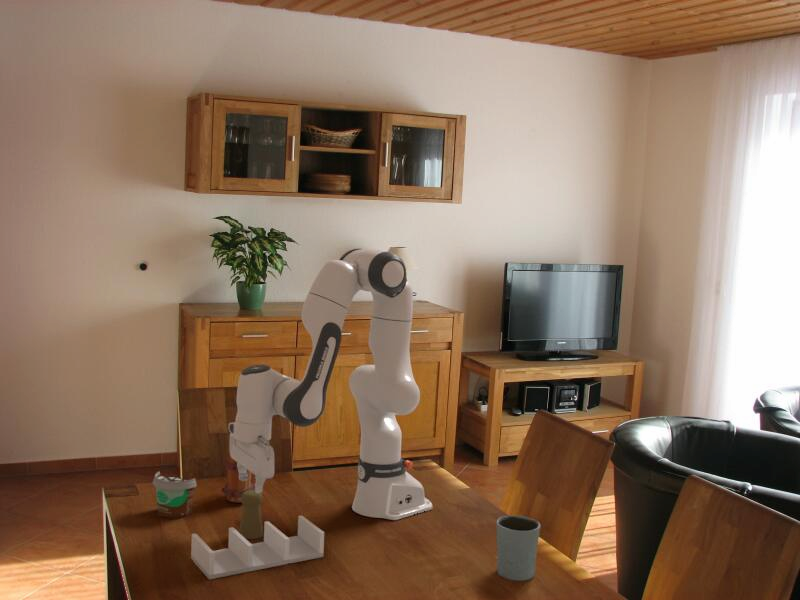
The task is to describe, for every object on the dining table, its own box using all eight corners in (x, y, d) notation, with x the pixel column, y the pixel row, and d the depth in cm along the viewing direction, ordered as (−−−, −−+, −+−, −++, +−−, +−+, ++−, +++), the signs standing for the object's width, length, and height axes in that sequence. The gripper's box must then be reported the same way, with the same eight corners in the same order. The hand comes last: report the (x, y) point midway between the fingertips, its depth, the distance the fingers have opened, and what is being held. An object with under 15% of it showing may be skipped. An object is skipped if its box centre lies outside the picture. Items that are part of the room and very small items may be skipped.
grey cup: (507, 584, 196) (510, 533, 195) (485, 566, 206) (488, 517, 204) (545, 578, 200) (549, 528, 199) (522, 561, 210) (525, 512, 208)
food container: (142, 514, 228) (142, 477, 226) (157, 507, 233) (157, 471, 232) (181, 523, 223) (182, 485, 222) (196, 515, 229) (196, 478, 228)
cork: (267, 532, 219) (269, 490, 218) (254, 540, 214) (255, 497, 213) (247, 528, 222) (248, 486, 221) (233, 535, 217) (234, 492, 215)
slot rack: (301, 538, 217) (302, 515, 216) (323, 556, 207) (324, 532, 206) (191, 559, 202) (191, 534, 201) (209, 579, 192) (209, 553, 191)
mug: (245, 507, 236) (247, 453, 234) (217, 504, 238) (218, 450, 236) (264, 490, 250) (266, 439, 249) (237, 487, 252) (239, 436, 250)
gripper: (282, 441, 208) (279, 497, 209) (249, 420, 225) (246, 472, 226) (257, 443, 204) (254, 500, 206) (226, 422, 222) (223, 475, 223)
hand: (250, 486), depth 216 cm, fingers open, 8 cm apart
